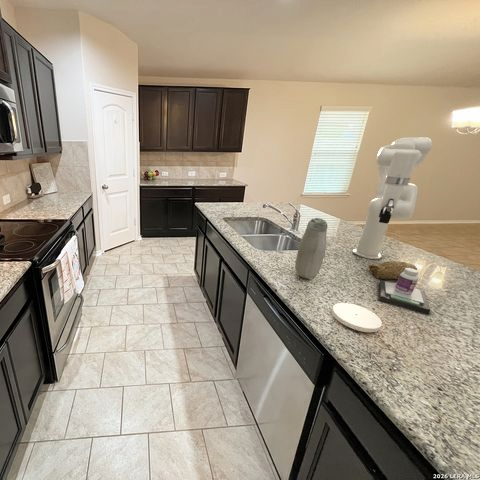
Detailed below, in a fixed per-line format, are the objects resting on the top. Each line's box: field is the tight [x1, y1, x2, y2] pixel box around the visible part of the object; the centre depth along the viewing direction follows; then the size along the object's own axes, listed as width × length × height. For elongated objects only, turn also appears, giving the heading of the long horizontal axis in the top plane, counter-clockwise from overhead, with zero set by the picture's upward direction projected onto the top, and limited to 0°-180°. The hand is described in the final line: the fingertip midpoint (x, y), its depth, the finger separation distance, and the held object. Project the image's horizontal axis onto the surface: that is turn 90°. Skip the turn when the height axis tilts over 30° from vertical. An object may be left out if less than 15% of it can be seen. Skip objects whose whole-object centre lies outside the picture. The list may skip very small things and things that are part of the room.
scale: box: [378, 279, 431, 316], centre depth 101 cm, size 16×14×3 cm
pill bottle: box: [395, 268, 420, 294], centre depth 100 cm, size 5×5×10 cm
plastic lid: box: [331, 302, 383, 333], centre depth 88 cm, size 14×14×2 cm
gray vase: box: [294, 217, 328, 279], centre depth 113 cm, size 10×10×28 cm
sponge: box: [368, 260, 418, 280], centre depth 118 cm, size 13×8×20 cm
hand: (383, 220), depth 112 cm, fingers open, 9 cm apart
